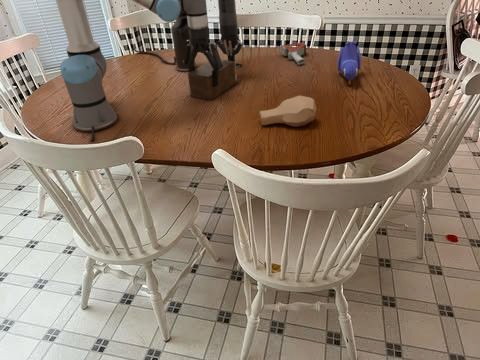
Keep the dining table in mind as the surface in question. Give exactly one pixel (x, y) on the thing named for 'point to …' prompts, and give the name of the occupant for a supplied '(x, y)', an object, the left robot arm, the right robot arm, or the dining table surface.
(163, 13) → the left robot arm
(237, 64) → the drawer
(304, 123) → the squash
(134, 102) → the dining table surface
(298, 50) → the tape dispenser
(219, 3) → the right robot arm
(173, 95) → the dining table surface
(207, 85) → the dark brown box
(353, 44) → the toy
